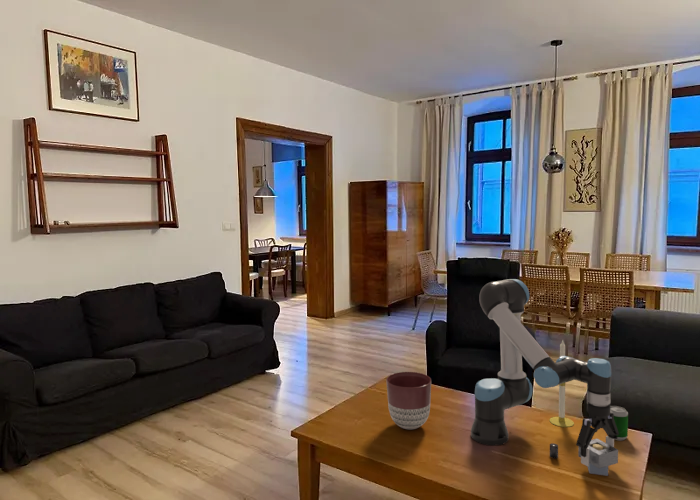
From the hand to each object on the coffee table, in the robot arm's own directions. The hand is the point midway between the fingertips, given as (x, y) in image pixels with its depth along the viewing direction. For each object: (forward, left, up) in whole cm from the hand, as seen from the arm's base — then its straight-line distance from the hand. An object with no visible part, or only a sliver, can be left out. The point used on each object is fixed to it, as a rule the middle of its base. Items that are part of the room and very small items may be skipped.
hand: (597, 459), depth 174 cm
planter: (-72, +17, -4) cm, 74 cm away
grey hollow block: (0, 0, 0) cm, 0 cm away
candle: (-8, +38, -4) cm, 39 cm away
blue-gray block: (0, 0, -4) cm, 4 cm away
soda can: (+12, +29, -4) cm, 32 cm away
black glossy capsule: (-14, +6, -4) cm, 16 cm away
